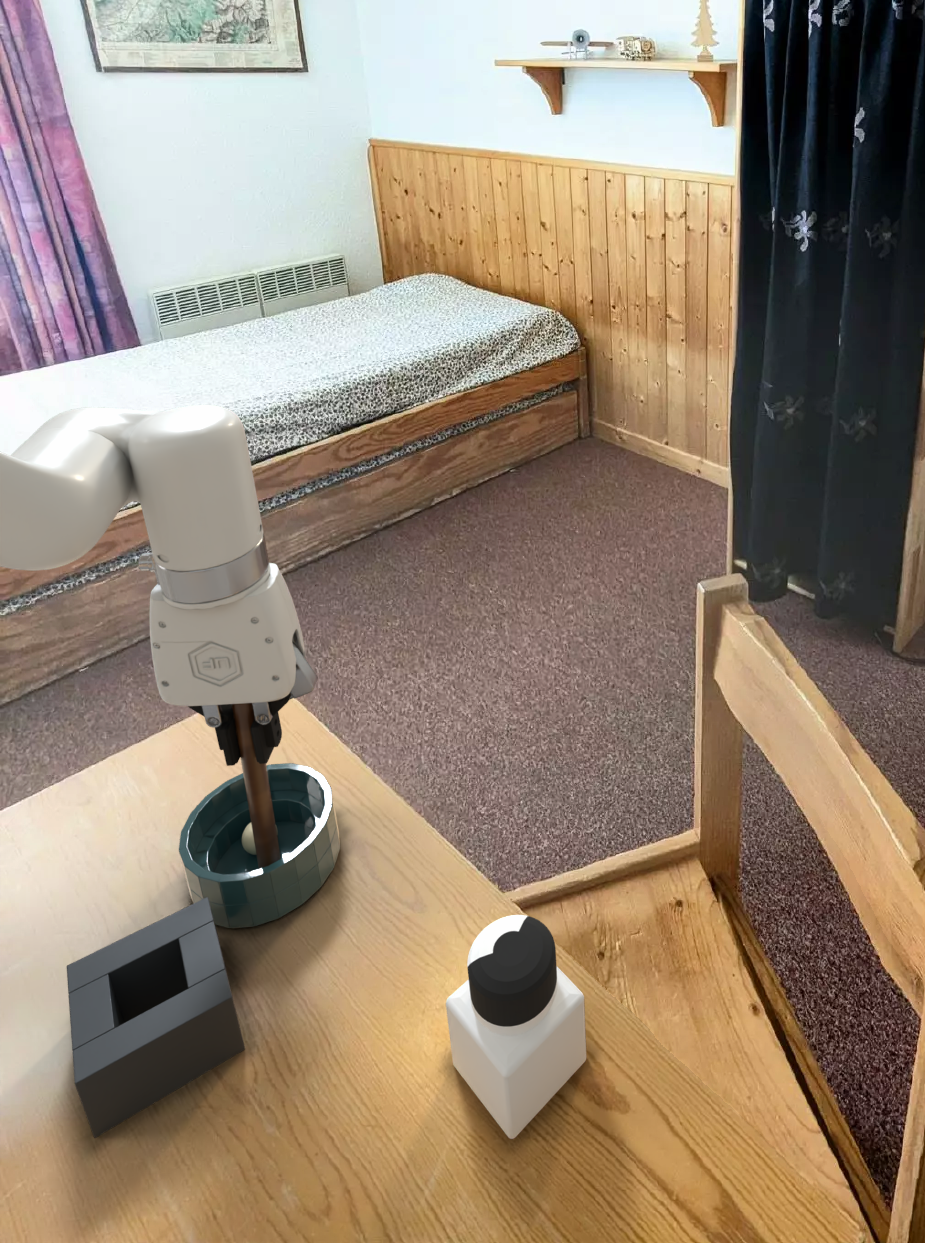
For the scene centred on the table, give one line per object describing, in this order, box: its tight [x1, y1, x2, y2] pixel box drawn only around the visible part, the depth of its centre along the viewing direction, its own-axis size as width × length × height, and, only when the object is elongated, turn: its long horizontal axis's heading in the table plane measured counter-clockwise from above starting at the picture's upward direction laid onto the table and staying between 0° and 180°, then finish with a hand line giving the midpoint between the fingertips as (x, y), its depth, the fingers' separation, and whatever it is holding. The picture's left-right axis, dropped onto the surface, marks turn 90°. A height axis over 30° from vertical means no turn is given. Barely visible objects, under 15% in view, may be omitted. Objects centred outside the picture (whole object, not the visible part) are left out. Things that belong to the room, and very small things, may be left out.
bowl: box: [178, 762, 341, 929], centre depth 77 cm, size 12×12×6 cm
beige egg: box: [242, 823, 278, 855], centre depth 79 cm, size 3×3×3 cm
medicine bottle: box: [445, 914, 587, 1140], centre depth 61 cm, size 7×7×12 cm
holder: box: [66, 897, 246, 1139], centre depth 64 cm, size 10×10×6 cm
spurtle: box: [232, 703, 281, 869], centre depth 73 cm, size 2×2×18 cm
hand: (253, 750), depth 72 cm, fingers closed on spurtle, 1 cm apart
